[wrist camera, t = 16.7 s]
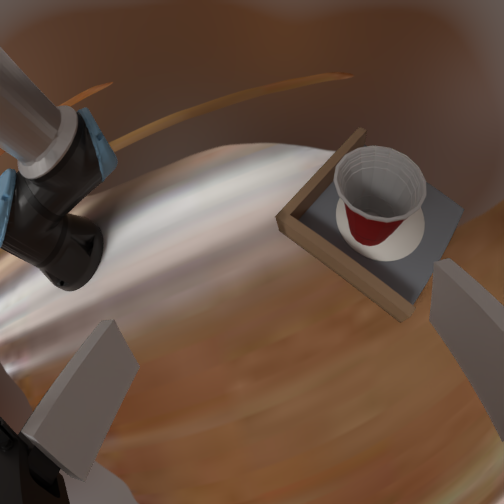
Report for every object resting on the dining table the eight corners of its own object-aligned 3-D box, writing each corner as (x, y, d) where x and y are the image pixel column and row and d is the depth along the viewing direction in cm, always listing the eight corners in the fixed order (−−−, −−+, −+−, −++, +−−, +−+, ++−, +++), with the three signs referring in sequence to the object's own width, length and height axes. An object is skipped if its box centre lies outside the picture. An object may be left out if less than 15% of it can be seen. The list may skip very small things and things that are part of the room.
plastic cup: (363, 183, 42) (372, 128, 31) (415, 228, 37) (442, 180, 26) (315, 226, 41) (312, 175, 30) (370, 278, 36) (390, 241, 25)
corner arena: (279, 231, 43) (275, 216, 39) (357, 144, 46) (359, 126, 42) (400, 322, 34) (410, 317, 30) (462, 211, 37) (472, 197, 33)
